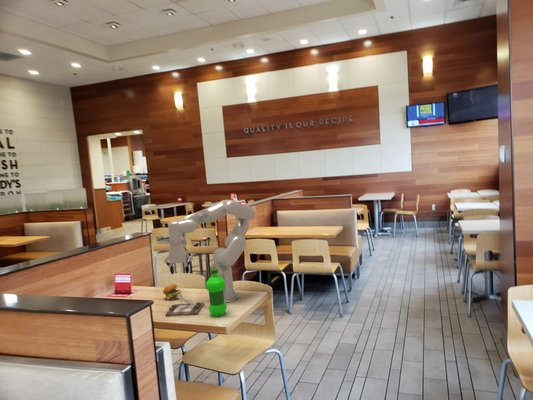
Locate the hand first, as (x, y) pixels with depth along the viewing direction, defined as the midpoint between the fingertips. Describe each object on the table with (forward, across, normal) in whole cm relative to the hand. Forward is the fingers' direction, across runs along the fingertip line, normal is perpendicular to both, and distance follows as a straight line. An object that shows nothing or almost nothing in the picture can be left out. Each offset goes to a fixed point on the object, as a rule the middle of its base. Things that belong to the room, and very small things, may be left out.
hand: (179, 273), depth 221 cm
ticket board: (+22, -1, 0) cm, 22 cm away
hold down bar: (+17, -2, 0) cm, 17 cm away
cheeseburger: (+22, +14, -23) cm, 35 cm away
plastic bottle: (+22, -22, +9) cm, 33 cm away
